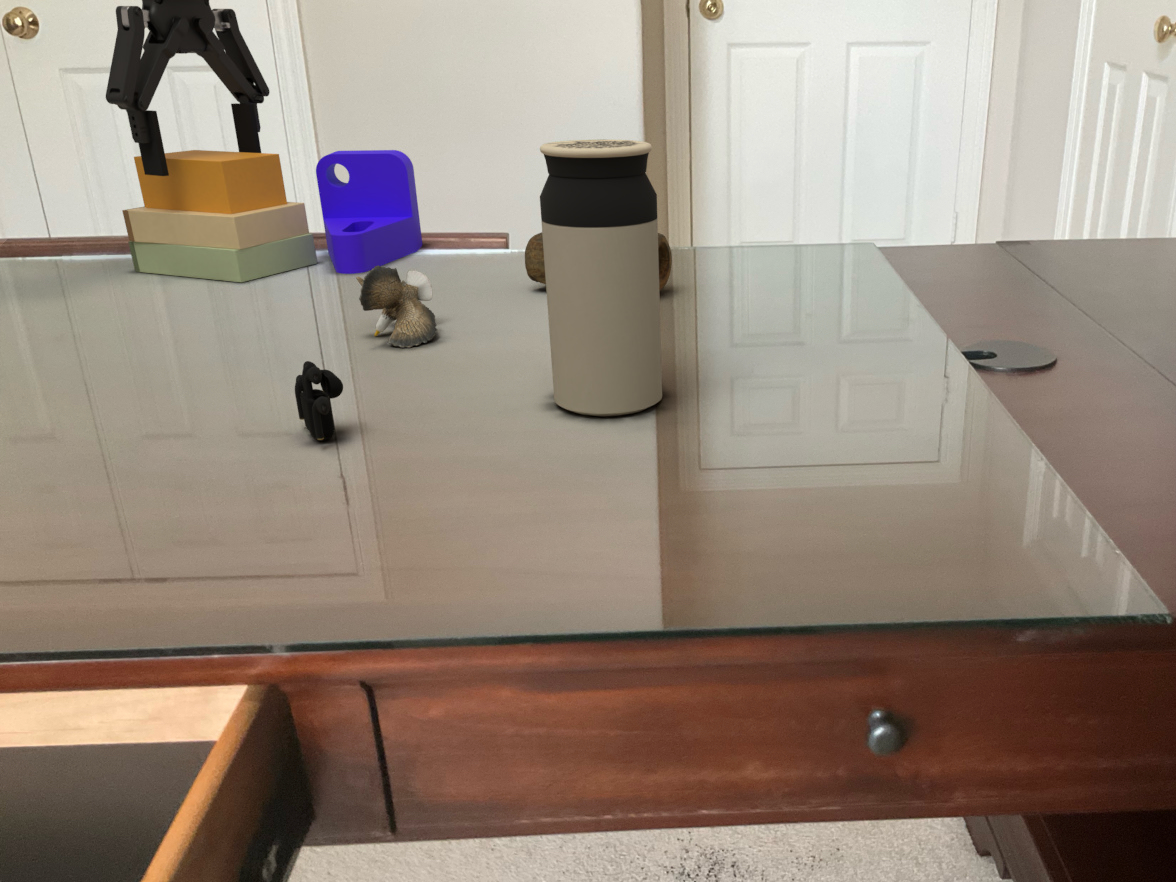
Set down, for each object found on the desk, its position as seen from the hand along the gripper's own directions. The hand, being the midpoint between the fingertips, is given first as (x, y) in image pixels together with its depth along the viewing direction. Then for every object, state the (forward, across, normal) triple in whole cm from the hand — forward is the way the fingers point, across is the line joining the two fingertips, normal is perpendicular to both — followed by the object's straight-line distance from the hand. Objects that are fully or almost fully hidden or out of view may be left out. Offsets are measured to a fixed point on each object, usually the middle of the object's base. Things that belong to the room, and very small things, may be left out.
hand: (206, 169), depth 122 cm
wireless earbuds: (+10, +42, +52) cm, 68 cm away
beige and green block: (+11, 0, 0) cm, 11 cm away
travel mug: (+10, +28, +66) cm, 73 cm away
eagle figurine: (+11, +18, +40) cm, 45 cm away
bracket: (+11, -11, +12) cm, 19 cm away
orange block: (+4, 0, 0) cm, 4 cm away
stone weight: (+10, -5, +47) cm, 49 cm away
